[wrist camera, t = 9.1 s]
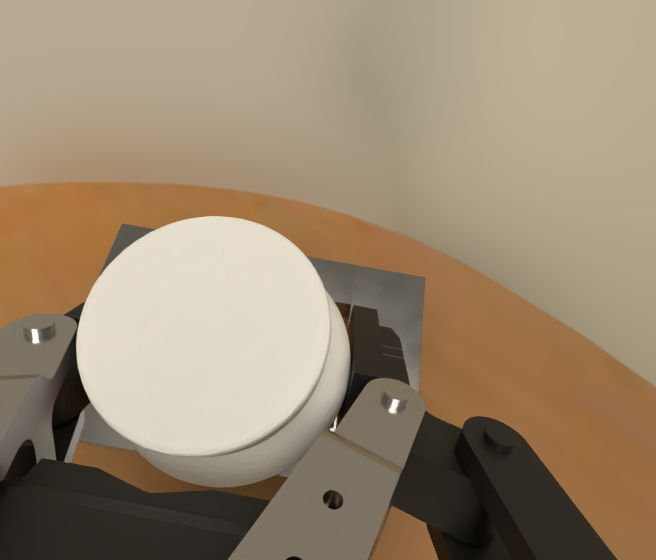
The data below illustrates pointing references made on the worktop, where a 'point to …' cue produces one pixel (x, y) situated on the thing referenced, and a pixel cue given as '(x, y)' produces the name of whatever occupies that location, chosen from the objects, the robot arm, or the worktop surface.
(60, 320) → the robot arm
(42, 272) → the worktop surface
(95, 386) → the supplement bottle
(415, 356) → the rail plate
